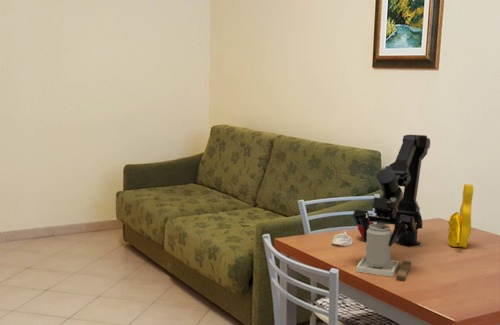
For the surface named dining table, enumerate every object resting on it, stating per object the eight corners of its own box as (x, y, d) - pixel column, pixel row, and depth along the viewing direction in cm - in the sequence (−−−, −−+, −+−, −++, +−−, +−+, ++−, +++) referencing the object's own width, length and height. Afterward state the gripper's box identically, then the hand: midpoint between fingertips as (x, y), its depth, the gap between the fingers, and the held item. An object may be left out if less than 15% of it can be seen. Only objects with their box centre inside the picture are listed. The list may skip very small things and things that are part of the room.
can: (384, 269, 174) (385, 230, 172) (361, 264, 178) (362, 226, 176) (394, 262, 180) (395, 225, 178) (371, 258, 184) (373, 221, 182)
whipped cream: (341, 250, 201) (342, 237, 200) (326, 245, 206) (327, 232, 204) (354, 244, 207) (355, 232, 205) (339, 239, 211) (340, 226, 210)
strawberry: (371, 236, 215) (372, 210, 214) (375, 242, 208) (376, 215, 207) (355, 236, 216) (356, 210, 214) (358, 242, 208) (359, 214, 207)
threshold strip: (403, 264, 184) (403, 260, 184) (411, 265, 183) (411, 261, 183) (396, 280, 169) (396, 276, 169) (404, 281, 168) (404, 277, 168)
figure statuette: (442, 238, 214) (446, 179, 211) (465, 239, 212) (468, 180, 209) (451, 252, 196) (454, 188, 193) (475, 253, 195) (479, 189, 192)
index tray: (363, 261, 186) (363, 256, 186) (398, 265, 182) (398, 261, 182) (356, 272, 176) (356, 266, 176) (393, 276, 172) (393, 271, 172)
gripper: (355, 184, 183) (341, 225, 176) (415, 190, 174) (403, 234, 166) (363, 203, 191) (350, 244, 184) (420, 210, 182) (409, 253, 174)
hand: (377, 243), depth 177 cm, fingers closed on can, 7 cm apart
